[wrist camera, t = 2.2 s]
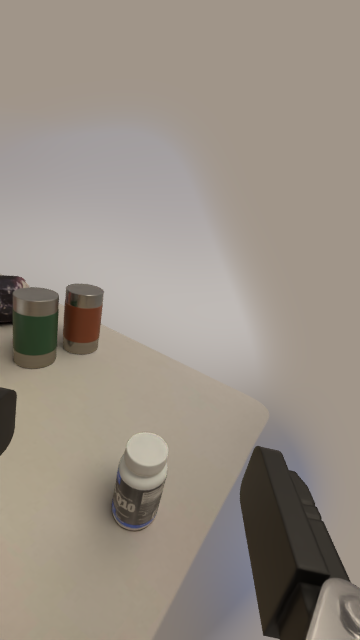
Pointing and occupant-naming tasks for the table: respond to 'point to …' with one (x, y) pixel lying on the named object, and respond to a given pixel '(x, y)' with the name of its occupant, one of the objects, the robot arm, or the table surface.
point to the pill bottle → (140, 481)
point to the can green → (35, 327)
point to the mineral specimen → (9, 295)
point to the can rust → (82, 318)
